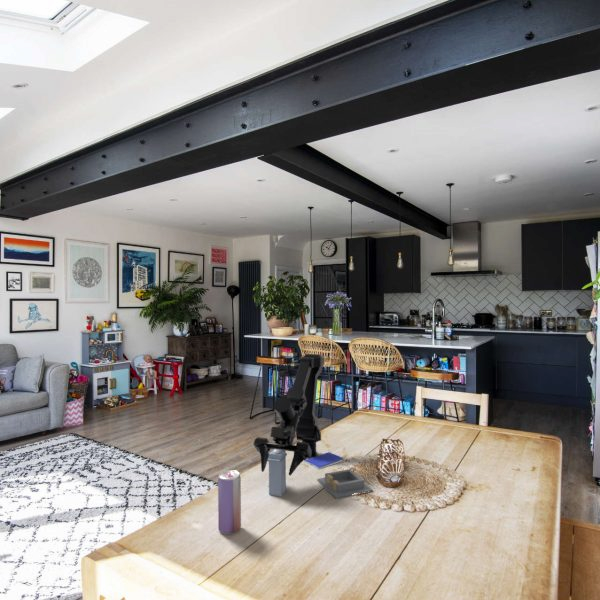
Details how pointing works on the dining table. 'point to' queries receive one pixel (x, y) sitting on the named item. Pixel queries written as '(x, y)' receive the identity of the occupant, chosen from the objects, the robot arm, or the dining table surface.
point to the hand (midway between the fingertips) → (275, 473)
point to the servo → (277, 472)
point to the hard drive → (323, 460)
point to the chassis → (343, 483)
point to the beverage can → (229, 502)
